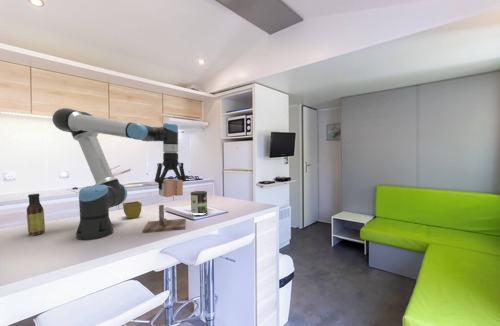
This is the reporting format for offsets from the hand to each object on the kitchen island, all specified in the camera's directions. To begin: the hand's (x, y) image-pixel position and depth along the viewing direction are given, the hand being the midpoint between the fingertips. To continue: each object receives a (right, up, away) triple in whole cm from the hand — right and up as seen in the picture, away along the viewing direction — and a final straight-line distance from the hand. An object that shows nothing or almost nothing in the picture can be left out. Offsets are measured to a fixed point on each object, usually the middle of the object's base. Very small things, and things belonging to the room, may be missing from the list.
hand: (170, 194), depth 126 cm
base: (-2, -17, -1) cm, 17 cm away
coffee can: (+10, -16, +25) cm, 31 cm away
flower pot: (-30, -17, +19) cm, 39 cm away
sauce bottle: (-63, -18, -10) cm, 66 cm away
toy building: (0, 0, 0) cm, 0 cm away
